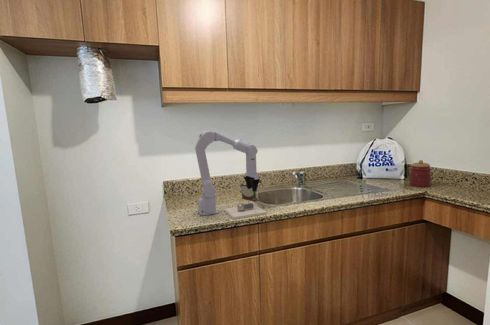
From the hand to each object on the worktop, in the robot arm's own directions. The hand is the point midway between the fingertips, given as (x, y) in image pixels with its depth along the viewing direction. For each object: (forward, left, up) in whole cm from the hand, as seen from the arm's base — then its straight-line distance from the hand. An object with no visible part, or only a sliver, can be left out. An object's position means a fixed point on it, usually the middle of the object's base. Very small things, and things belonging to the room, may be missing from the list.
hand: (252, 190), depth 154 cm
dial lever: (-7, -8, -8) cm, 13 cm away
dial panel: (-8, -8, -10) cm, 15 cm away
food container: (+5, +15, -10) cm, 19 cm away
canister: (+122, -9, -10) cm, 123 cm away
